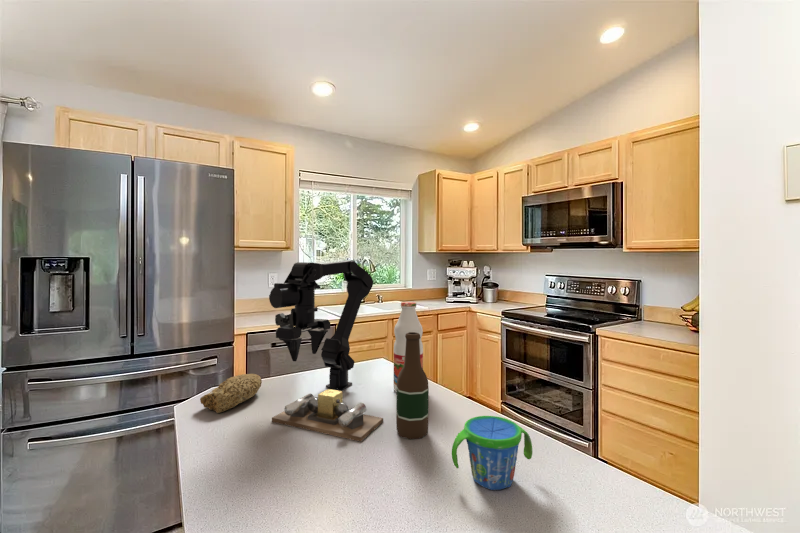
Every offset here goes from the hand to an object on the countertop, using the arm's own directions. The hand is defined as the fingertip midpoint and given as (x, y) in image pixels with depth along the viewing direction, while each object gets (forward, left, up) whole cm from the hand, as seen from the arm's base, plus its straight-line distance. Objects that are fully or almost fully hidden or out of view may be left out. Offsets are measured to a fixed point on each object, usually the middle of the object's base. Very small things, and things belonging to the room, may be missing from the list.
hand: (304, 357), depth 111 cm
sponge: (+9, -18, -13) cm, 24 cm away
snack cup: (+19, +58, -13) cm, 62 cm away
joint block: (+9, +15, -12) cm, 21 cm away
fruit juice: (-20, +25, -13) cm, 35 cm away
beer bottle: (+7, +37, -13) cm, 40 cm away
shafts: (+11, +15, -11) cm, 21 cm away
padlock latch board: (+10, +15, -12) cm, 22 cm away
